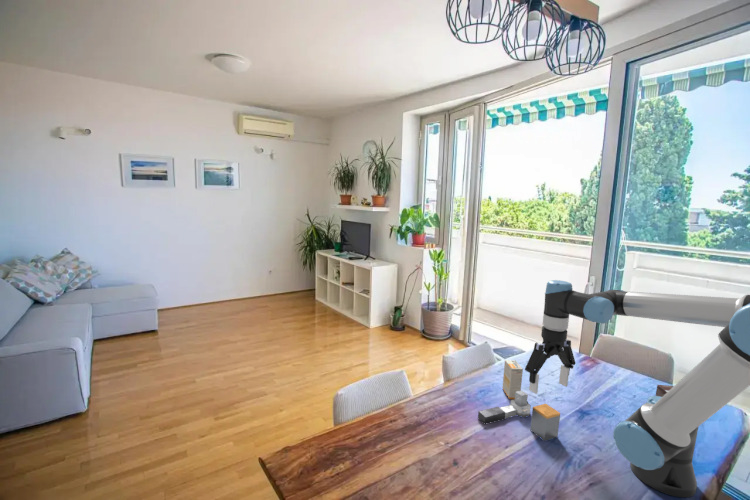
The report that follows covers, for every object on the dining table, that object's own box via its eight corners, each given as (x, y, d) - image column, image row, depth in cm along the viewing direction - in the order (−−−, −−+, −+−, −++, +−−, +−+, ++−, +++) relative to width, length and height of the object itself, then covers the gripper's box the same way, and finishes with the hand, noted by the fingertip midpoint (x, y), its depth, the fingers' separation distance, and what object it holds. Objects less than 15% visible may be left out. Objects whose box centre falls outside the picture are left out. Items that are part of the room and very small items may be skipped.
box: (670, 402, 147) (672, 385, 146) (681, 410, 141) (683, 393, 140) (654, 401, 148) (656, 384, 147) (664, 409, 142) (667, 392, 141)
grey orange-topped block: (557, 437, 123) (560, 413, 121) (544, 441, 120) (547, 416, 119) (543, 426, 128) (545, 403, 127) (530, 430, 126) (532, 406, 124)
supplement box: (520, 399, 145) (523, 369, 143) (508, 399, 145) (511, 368, 143) (513, 389, 153) (516, 359, 151) (501, 388, 153) (504, 359, 151)
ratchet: (520, 404, 141) (521, 386, 140) (534, 414, 135) (536, 396, 134) (475, 415, 133) (476, 396, 132) (487, 427, 127) (489, 407, 126)
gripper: (571, 320, 127) (565, 377, 130) (516, 327, 118) (511, 388, 121) (591, 327, 120) (584, 387, 123) (535, 335, 111) (528, 400, 114)
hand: (548, 388), depth 122 cm, fingers open, 13 cm apart
